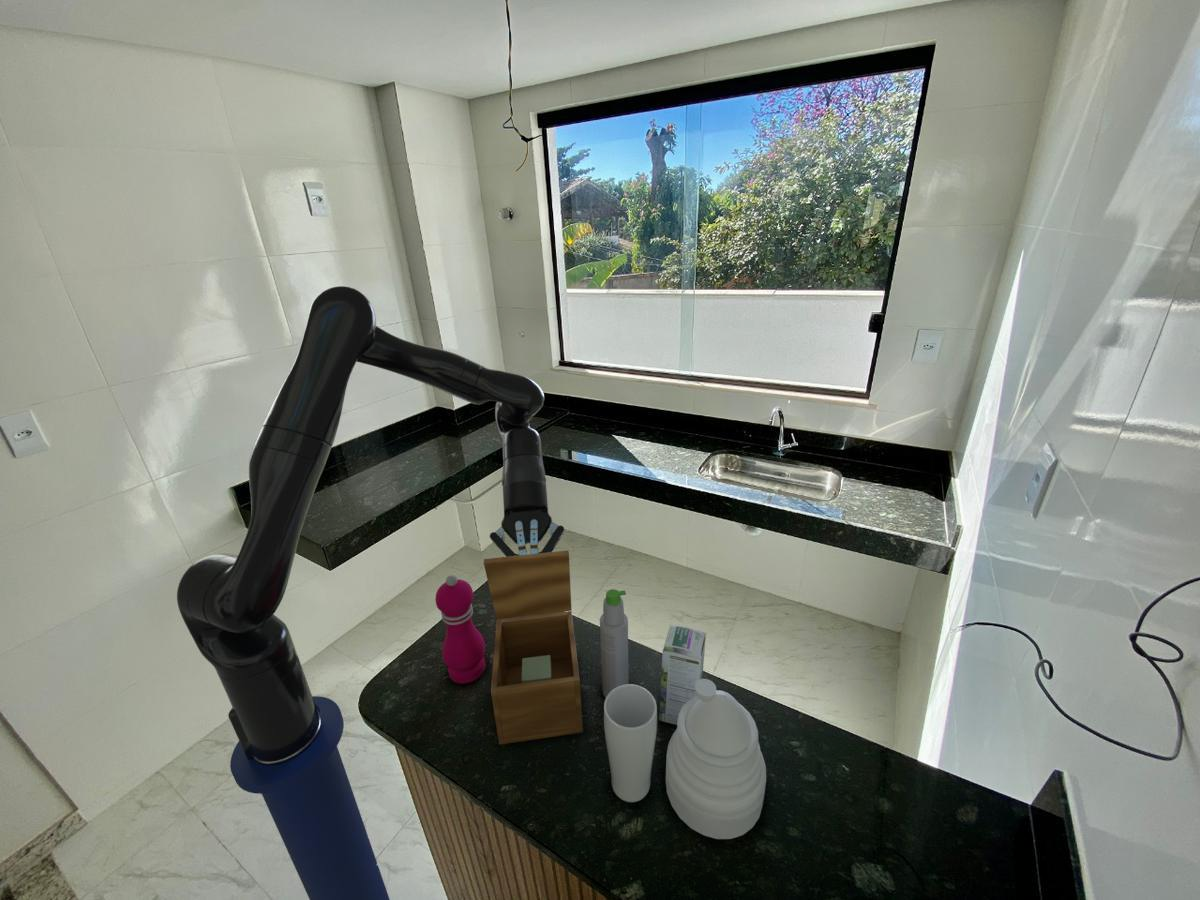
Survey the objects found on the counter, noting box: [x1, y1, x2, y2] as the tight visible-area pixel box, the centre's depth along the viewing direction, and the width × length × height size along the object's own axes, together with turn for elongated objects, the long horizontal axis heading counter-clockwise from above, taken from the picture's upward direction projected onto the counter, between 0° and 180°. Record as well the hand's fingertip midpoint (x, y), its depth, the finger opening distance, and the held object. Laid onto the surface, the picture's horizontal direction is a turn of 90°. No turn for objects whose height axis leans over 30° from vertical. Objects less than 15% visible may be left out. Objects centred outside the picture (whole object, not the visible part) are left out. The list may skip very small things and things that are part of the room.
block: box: [522, 655, 552, 683], centre depth 76 cm, size 4×4×8 cm
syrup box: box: [658, 624, 707, 726], centre depth 74 cm, size 6×6×14 cm
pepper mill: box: [434, 574, 486, 685], centre depth 82 cm, size 7×7×20 cm
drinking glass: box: [603, 683, 658, 803], centre depth 63 cm, size 7×7×15 cm
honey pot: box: [665, 678, 767, 840], centre depth 62 cm, size 13×13×18 cm
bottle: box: [599, 588, 630, 699], centre depth 77 cm, size 4×4×20 cm
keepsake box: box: [490, 610, 584, 745], centre depth 78 cm, size 15×13×11 cm
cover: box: [483, 549, 572, 620], centre depth 77 cm, size 15×13×1 cm
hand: (530, 587), depth 78 cm, fingers closed
